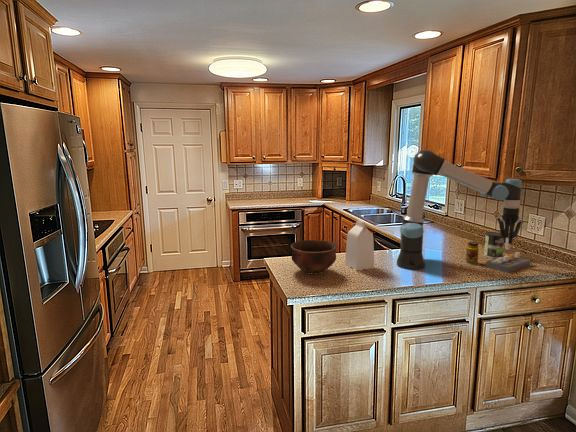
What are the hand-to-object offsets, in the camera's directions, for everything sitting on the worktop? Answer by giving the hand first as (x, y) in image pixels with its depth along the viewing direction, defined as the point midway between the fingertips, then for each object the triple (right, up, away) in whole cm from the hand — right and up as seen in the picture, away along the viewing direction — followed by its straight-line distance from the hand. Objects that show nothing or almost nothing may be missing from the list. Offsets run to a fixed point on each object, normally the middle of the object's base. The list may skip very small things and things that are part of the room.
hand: (507, 248), depth 208 cm
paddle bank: (+1, -6, 0) cm, 6 cm away
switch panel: (+1, -10, +1) cm, 10 cm away
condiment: (-17, -9, +7) cm, 20 cm away
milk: (-82, -10, +3) cm, 83 cm away
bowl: (-109, -12, -6) cm, 110 cm away
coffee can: (+3, -6, +19) cm, 21 cm away
